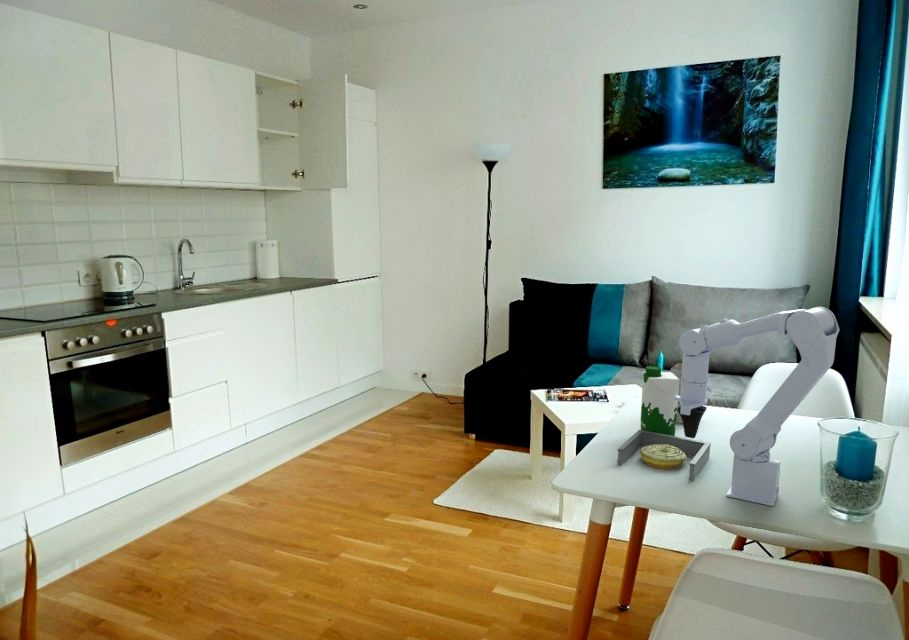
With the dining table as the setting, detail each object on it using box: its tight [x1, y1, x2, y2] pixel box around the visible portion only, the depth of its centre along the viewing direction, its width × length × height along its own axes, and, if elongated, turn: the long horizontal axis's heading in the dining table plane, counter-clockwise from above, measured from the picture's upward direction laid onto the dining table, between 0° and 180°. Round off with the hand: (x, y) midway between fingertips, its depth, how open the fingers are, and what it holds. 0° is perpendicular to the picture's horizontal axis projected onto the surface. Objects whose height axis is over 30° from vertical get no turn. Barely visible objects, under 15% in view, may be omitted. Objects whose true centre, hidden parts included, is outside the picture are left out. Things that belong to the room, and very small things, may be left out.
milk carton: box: [640, 365, 680, 436], centre depth 183 cm, size 9×9×20 cm
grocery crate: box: [617, 429, 712, 482], centre depth 169 cm, size 18×17×4 cm
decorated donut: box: [640, 444, 688, 470], centre depth 168 cm, size 10×11×4 cm
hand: (690, 436), depth 159 cm, fingers closed
